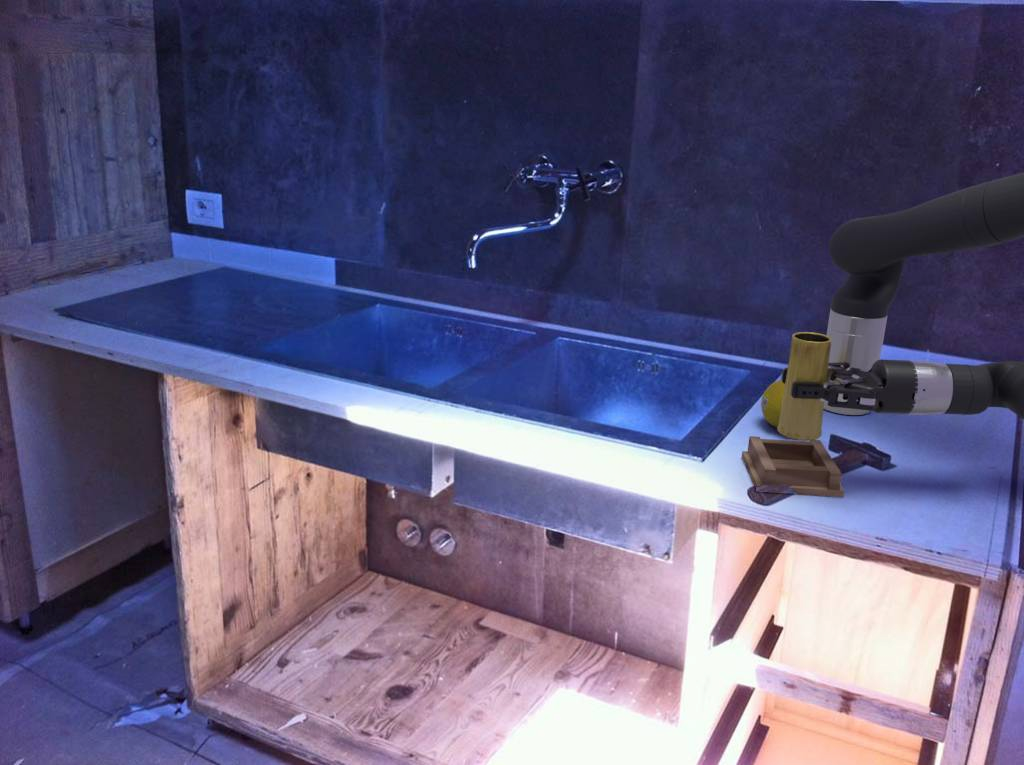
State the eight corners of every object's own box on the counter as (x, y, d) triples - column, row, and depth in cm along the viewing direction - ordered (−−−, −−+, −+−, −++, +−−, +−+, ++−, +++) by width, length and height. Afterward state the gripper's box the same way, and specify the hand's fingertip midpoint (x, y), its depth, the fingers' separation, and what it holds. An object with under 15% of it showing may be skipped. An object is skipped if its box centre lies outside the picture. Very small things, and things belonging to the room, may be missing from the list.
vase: (819, 443, 130) (833, 345, 125) (774, 436, 132) (786, 339, 127) (823, 428, 135) (836, 334, 131) (779, 422, 137) (791, 328, 133)
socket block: (741, 457, 142) (744, 435, 141) (821, 461, 142) (825, 440, 140) (756, 492, 131) (759, 469, 130) (843, 497, 130) (847, 474, 129)
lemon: (755, 414, 160) (761, 370, 157) (802, 418, 159) (809, 373, 156) (762, 438, 149) (768, 391, 147) (812, 443, 148) (819, 396, 146)
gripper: (896, 346, 136) (779, 342, 137) (933, 378, 123) (802, 373, 123) (888, 395, 139) (773, 390, 139) (923, 431, 125) (795, 426, 126)
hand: (787, 382), depth 131 cm, fingers closed on vase, 5 cm apart
